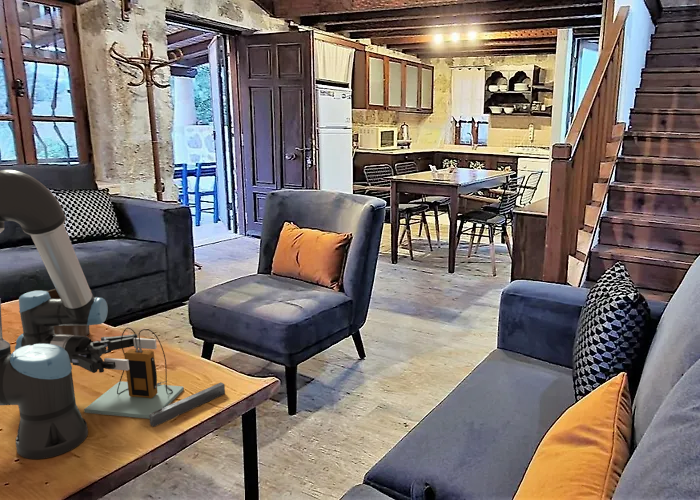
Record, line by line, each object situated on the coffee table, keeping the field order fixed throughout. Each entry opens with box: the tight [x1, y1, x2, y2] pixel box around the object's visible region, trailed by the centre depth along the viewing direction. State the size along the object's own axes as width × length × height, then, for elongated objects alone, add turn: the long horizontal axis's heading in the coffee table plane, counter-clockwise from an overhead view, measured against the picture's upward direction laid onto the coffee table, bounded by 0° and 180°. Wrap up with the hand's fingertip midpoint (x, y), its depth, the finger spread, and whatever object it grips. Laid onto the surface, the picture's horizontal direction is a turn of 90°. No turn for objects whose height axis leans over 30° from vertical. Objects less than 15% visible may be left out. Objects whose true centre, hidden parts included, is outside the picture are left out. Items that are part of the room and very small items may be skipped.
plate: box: [83, 380, 184, 420], centre depth 149 cm, size 16×20×1 cm
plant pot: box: [46, 288, 92, 337], centre depth 194 cm, size 16×16×16 cm
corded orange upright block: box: [117, 327, 173, 398], centre depth 151 cm, size 15×10×20 cm
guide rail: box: [149, 382, 226, 428], centre depth 145 cm, size 22×2×3 cm, turn 140°
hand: (142, 354), depth 147 cm, fingers open, 13 cm apart
